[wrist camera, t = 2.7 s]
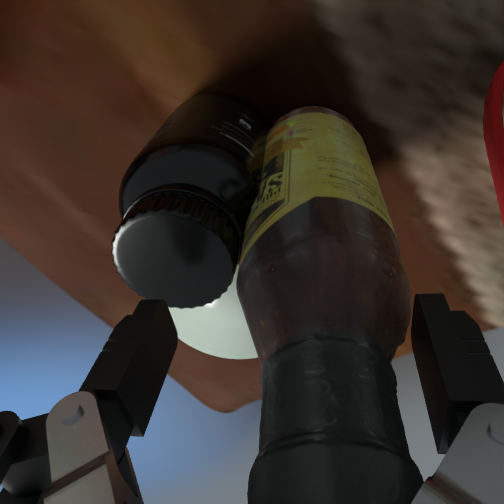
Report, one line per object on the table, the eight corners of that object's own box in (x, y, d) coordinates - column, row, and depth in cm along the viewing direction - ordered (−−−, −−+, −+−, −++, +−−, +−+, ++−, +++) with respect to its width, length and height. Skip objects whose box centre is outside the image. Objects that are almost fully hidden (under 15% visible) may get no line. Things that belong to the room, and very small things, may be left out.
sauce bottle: (263, 96, 22) (181, 440, 6) (374, 106, 22) (590, 489, 6) (255, 199, 26) (192, 572, 10) (350, 208, 26) (440, 605, 10)
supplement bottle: (297, 154, 24) (299, 277, 15) (219, 213, 27) (178, 348, 18) (221, 62, 22) (163, 140, 12) (144, 139, 25) (47, 251, 15)
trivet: (298, 222, 27) (296, 242, 25) (311, 340, 34) (310, 364, 32) (140, 232, 30) (126, 251, 28) (181, 340, 37) (173, 361, 35)
